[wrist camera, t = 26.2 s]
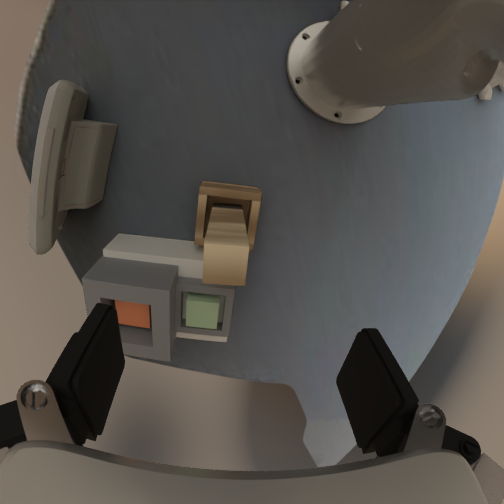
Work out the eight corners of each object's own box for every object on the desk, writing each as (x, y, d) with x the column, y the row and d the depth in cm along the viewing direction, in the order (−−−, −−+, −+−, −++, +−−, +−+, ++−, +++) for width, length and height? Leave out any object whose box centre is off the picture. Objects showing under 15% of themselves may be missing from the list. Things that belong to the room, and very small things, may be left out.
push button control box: (117, 233, 31) (80, 270, 22) (236, 245, 33) (239, 290, 24) (121, 304, 35) (95, 353, 26) (226, 317, 37) (227, 372, 28)
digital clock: (81, 82, 24) (28, 69, 14) (143, 105, 26) (103, 93, 16) (39, 205, 29) (-13, 233, 19) (92, 233, 31) (48, 272, 21)
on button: (188, 289, 29) (186, 299, 27) (219, 293, 30) (219, 303, 28) (187, 314, 30) (185, 325, 28) (217, 317, 31) (216, 329, 29)
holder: (202, 180, 30) (199, 186, 27) (258, 187, 31) (261, 193, 27) (197, 233, 32) (194, 244, 29) (250, 239, 33) (252, 251, 30)
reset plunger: (118, 286, 27) (114, 293, 25) (152, 291, 27) (148, 298, 26) (121, 315, 28) (117, 323, 27) (153, 319, 29) (150, 328, 27)
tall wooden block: (213, 202, 30) (204, 243, 19) (241, 204, 30) (249, 246, 19) (211, 229, 31) (202, 283, 20) (238, 231, 31) (244, 286, 20)
